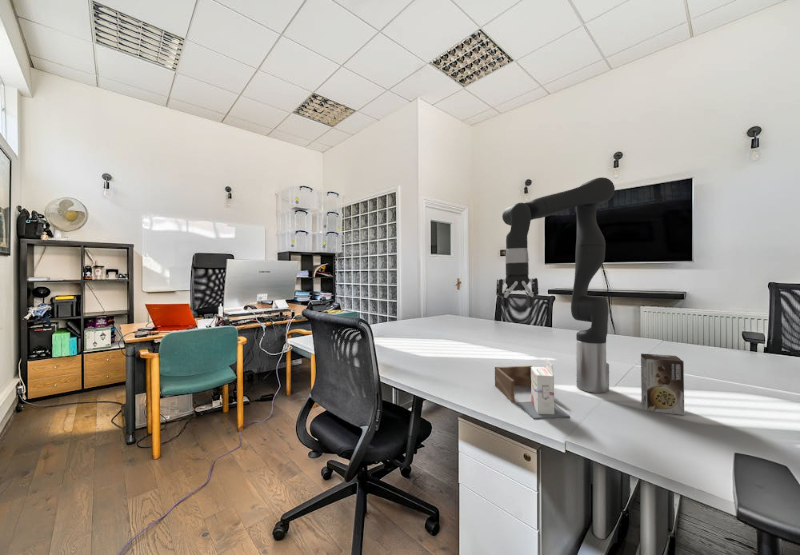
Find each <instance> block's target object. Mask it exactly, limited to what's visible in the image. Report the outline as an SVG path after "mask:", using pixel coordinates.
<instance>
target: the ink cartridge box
mask: <svg viewBox="0 0 800 555" xmlns="http://www.w3.org/2000/svg"><path fill="white" fill-rule="evenodd" d="M544 362H545V367H544V366H532V367H531V386H530V389H531V390H530V391H531V393H530V394H531V398H530V399H531V400H530V401H531V402H532V404H533V406H534V408H535V409H536V411H537V413H538V414H552V415H554V404H555V376H554V367H553V364H552V363H551V362H550V361H549V360H548V359H547V358H546V357H545V359H544Z"/></svg>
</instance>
